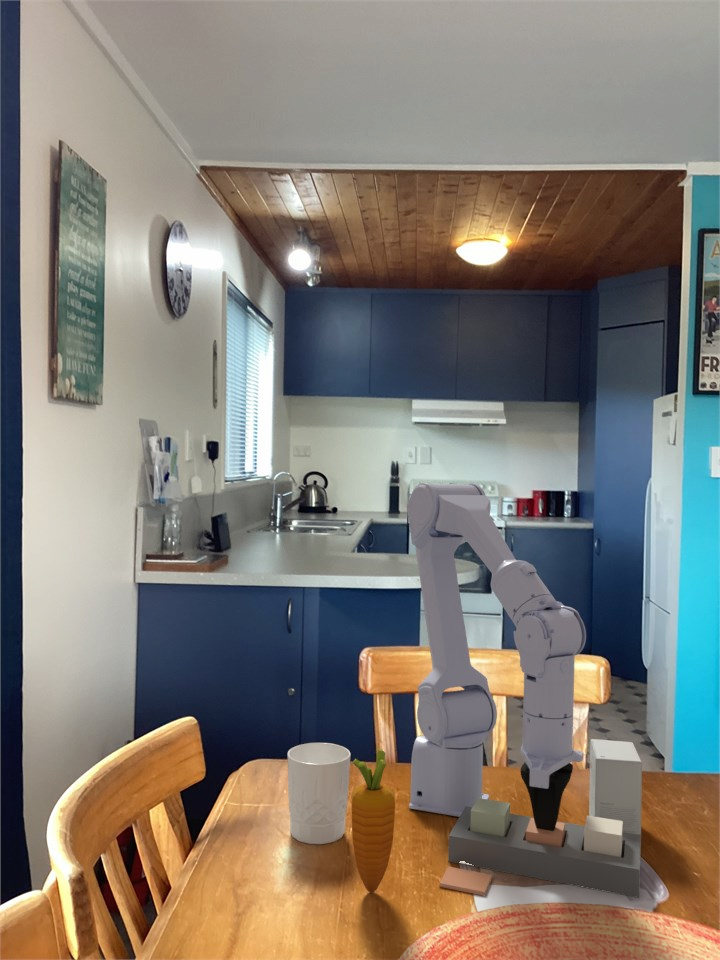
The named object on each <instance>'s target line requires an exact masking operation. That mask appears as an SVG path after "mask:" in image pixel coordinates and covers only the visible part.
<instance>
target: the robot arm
mask: <svg viewBox="0 0 720 960" xmlns="http://www.w3.org/2000/svg"><path fill="white" fill-rule="evenodd" d="M406 511H407V518H408V524H409V525H408V526H409V531H410V532H409V533H410V539H411V544H412V545H414V547H415V554H416V561H417V567H418V574H419V581H420V582H419V583H420V589H421V596H422V603H423V608H424V617H425V625H426V632H427V638H428V644H429V651H430V660H431V667H432V670H431V671H430V672H429V674H428V675H427V676H426V677H424V679H423V680H421V682H420V684H418V686H417V691H418V692H417V693H418V703H417V704H418V705H417V710H416V717H417V718H416V719H417V724H418V727H419V729H420V731H421V733H422V734H420V735H419V734H418V736H417V737H416V738H415V740H414V742H413V743H414V744H413V747H412V753H411V765H410V766H411V767H410V771H411V772H410V802H409V803H408V807H409V809H413V810H417V811H421V812H422V811H423V812H428V813H434V814H440V815H441V814H442V815H448V816H453V817H458V818H459V817H460V815H461V814H462V812H463V810H464V809H465V807H466V806H467V807H473V806H474V804H475V802H476V800H477V798H481V799H487V800H490V795H489V794H488V793H483V762H484V761H483V758H484V757H483V756H484V742H486V741H488V740H489V739H488V736H489V735H488V734H489V733H490V732H492V731H493V730H494V728H495V726H496V724H497V717H498V716H497V715H498V709H497V705H496V702H495V699H494V697H493V695H492V694H491V691H490V688H489V681H488V678H487V677H486V676H485V675H484V674H483V673H482V672H480V671H479V670H477V669H476V668H475V667H474V666H473V665H472V664H471V659H470V651H469V650H470V649H469V646H468V638H467V632H466V631H467V630H466V625H465V624H466V623H465V620H464V619H465V618H464V612H463V606H462V600H461V599H462V598H461V594H460V587H459V581H458V580H459V578H458V573H457V568H456V567H457V565H456V561H455V553H456V551H457V549H458V547H459V546H460V545H463V544H465V543H466V542H467V543H468V545H469V546H470V547H471V548H472V550H473V551H474V552H475V554H476V555H477V556H478V558H480V560H481V561H482V562H483V564H484V565H485V566H486V568H487V569H488V571H489V572H491V574H492V576H491V579H490V589H491V590H492V592H493V593H494V595H495V597H496V598H497V600H498V601H499V603H500V604H501V606H502V607H503V608H504V609H503V610H504V611H505V612H506V613H507V615H508V617H509V618H510V620H511V621H512V623H513V625H514V626H515V628H516V630H513V639H514V641H513V642H514V644H515V647H516V650H517V652H518V654H519V667H520V668H521V672H522V673H523V709H522V716H523V717H522V745H521V746H520V755H521V757H522V759H523V760H524V763H523V764H522V765H521V768H520V776H521V779H522V781H523V783H524V785H525V787H526V790H527V793H528V795H529V799H530V804H531V809H532V817H534V821H535V825H536V828H538V829H544V830H550V831H554V829H555V826H556V823H557V821H558V818H559V814H560V808H561V804H562V802H561V801H562V798H563V794H564V791H565V789H566V787H567V786H568V784H569V782H570V781H571V777H572V773H573V771H574V770H573V769H574V765H573V764H572V762H576V763H581V762H582V761H583V759H584V752H583V751H582V750H576V749H573V744H574V740H573V739H574V707H575V706H574V702H575V699H574V697H575V659H576V658H575V656H577V655H579V654H580V653H581V652H582V651H583V649H584V648H585V644H586V640H587V631H586V626H585V623H584V621H583V619H582V618H581V615H580V613H579V611H578V610H576V609H575V608H573V607H571V606H566V605H564V604H563V603H562V601H557V600H556V599H555V597H554V595H553V594H552V593H551V592H550V591H549V589H548V587H547V586H546V585H545V583H544V582H543V580H542V579H541V577H539V575H538V573H537V571H538V570H537V569H536V568H535V566H534V565H533V564H532V563H529V562H528V561H526V560H520V559H518V560H517V559H516V557H515V555H514V554H513V552H512V551H511V549H510V548H509V546H508V544H507V542H506V540H505V539H504V537H503V536H502V535H503V534H501V531H500V529H499V528H498V526H497V525H496V523H495V522H494V520H493V518H492V517H491V515H490V514H491V499H490V498H489V497H488V496H487V495H486V493H485V491H484V490H483V488H482V487H481V486H480V485H479V484H477V483H474V482H473V483H472V482H471V483H467V484H460V483H459V484H458V483H456V484H455V483H451V484H449V483H429V482H420V483H418V484H417V485H416V486H415V487H414V488H413V490H412V492H411V494H410V497H409V499H408V501H407V504H406ZM458 687H459V688H461V690H455V691H453V690H452V691H446V690H448V689H453V688H458Z"/></svg>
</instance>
